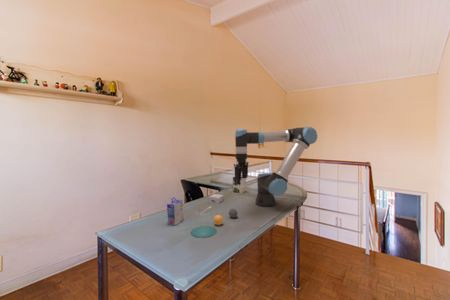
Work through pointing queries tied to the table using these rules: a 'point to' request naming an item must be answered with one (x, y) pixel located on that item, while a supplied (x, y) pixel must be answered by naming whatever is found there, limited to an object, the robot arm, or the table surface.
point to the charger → (215, 198)
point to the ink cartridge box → (175, 211)
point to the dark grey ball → (233, 213)
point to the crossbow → (205, 211)
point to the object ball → (218, 219)
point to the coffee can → (235, 187)
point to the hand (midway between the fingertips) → (241, 188)
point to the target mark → (203, 231)
